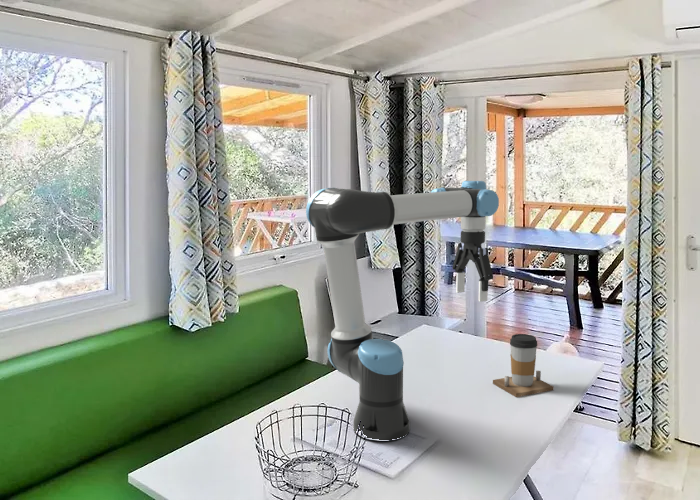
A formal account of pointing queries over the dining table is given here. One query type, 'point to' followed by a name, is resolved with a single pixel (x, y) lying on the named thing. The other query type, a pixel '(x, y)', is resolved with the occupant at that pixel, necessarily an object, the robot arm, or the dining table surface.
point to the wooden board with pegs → (520, 391)
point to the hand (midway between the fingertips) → (471, 296)
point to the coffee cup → (523, 359)
